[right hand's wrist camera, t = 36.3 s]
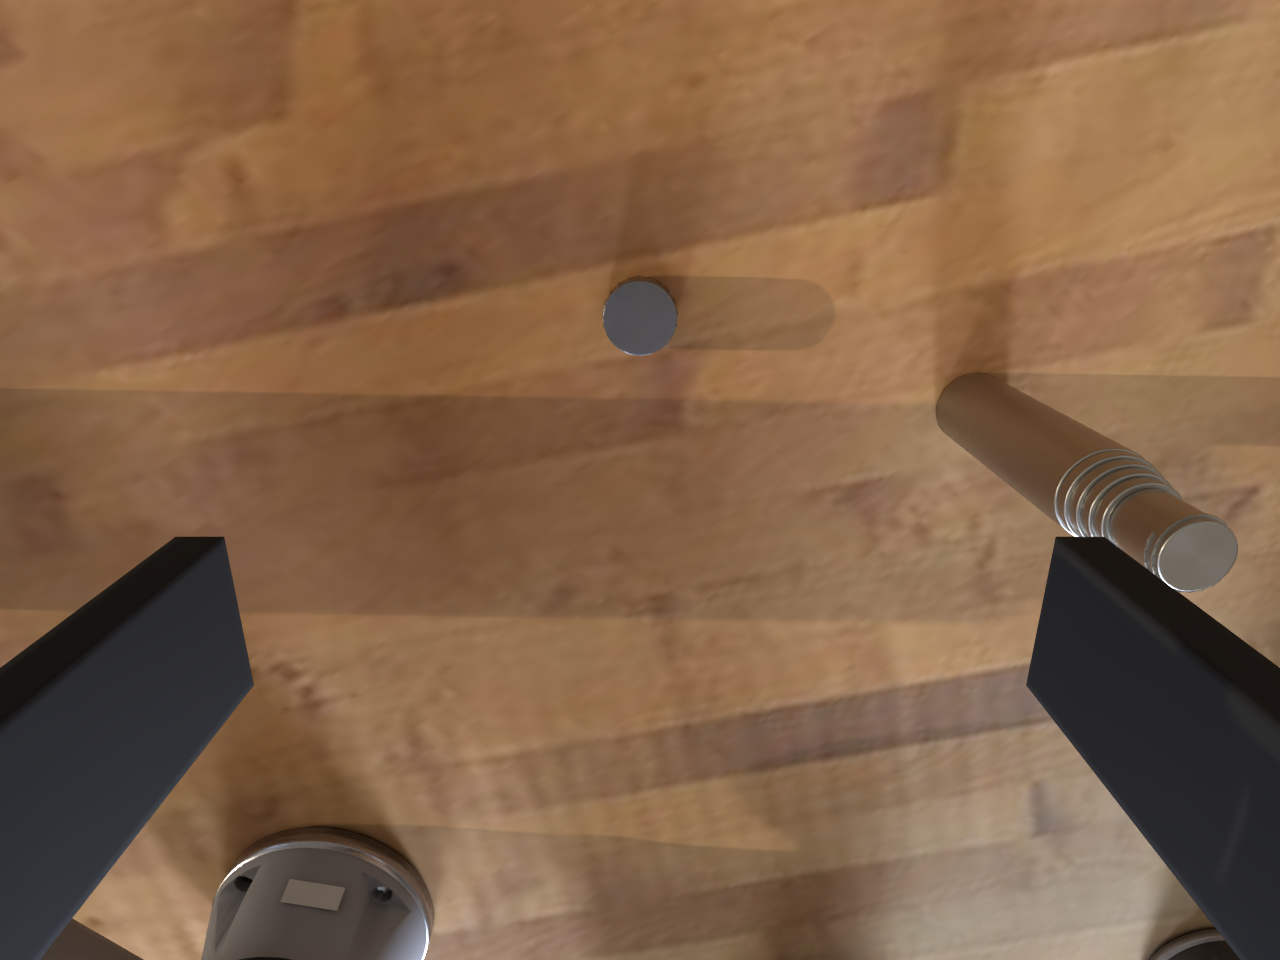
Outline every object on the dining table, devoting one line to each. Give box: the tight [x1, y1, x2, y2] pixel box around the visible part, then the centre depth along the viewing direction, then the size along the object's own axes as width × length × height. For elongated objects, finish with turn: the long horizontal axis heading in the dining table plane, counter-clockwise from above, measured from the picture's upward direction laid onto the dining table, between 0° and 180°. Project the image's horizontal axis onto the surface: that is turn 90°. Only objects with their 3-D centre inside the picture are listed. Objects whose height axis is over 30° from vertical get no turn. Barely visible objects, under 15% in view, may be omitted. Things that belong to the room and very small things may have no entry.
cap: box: [602, 276, 678, 355], centre depth 42 cm, size 4×4×2 cm
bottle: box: [936, 373, 1238, 593], centre depth 36 cm, size 4×4×20 cm
